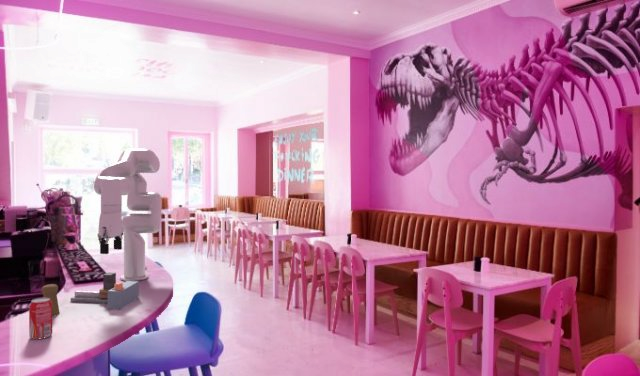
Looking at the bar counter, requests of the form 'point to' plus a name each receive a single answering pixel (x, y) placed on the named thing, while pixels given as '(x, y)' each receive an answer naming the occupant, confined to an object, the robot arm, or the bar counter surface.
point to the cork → (51, 297)
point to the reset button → (118, 286)
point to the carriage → (107, 284)
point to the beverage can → (40, 318)
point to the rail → (88, 297)
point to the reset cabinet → (123, 295)
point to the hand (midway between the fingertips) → (111, 251)
